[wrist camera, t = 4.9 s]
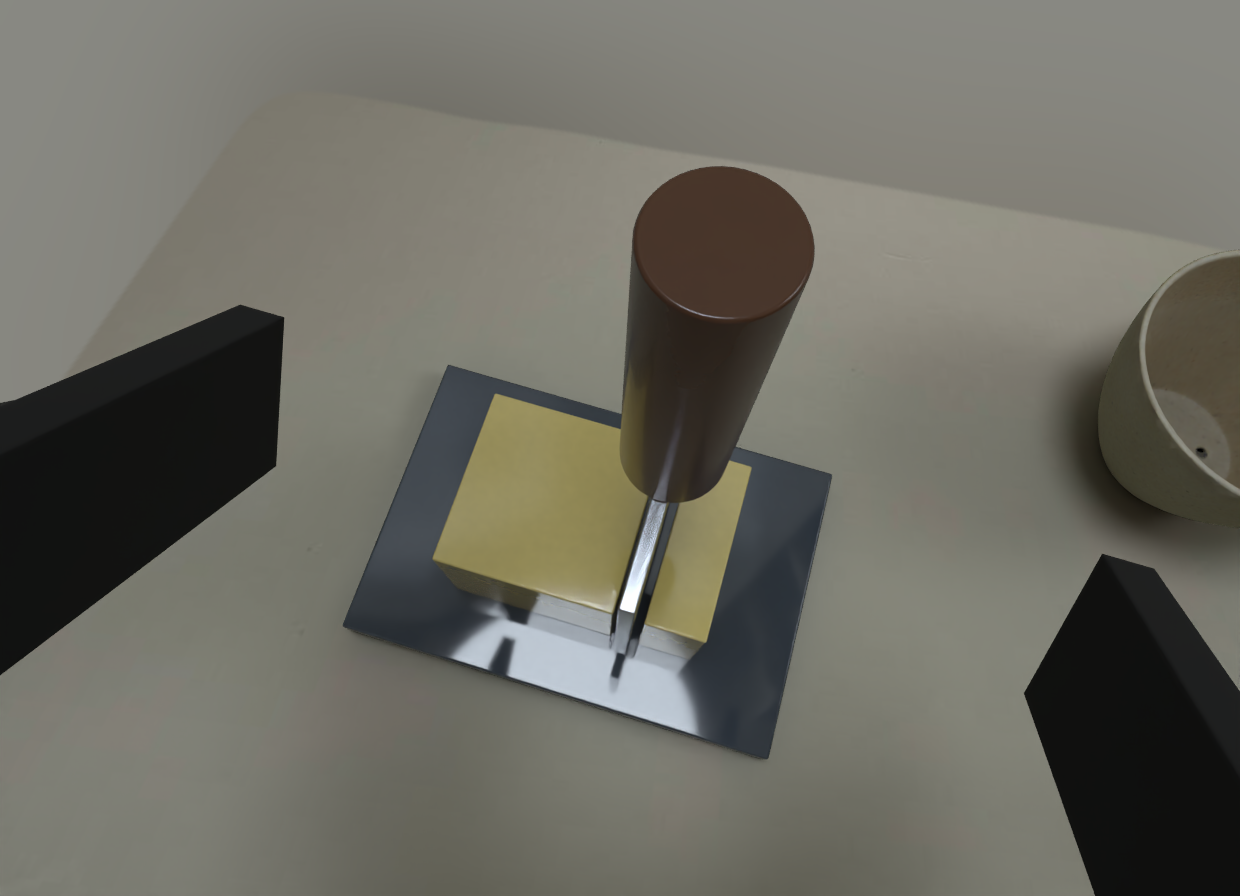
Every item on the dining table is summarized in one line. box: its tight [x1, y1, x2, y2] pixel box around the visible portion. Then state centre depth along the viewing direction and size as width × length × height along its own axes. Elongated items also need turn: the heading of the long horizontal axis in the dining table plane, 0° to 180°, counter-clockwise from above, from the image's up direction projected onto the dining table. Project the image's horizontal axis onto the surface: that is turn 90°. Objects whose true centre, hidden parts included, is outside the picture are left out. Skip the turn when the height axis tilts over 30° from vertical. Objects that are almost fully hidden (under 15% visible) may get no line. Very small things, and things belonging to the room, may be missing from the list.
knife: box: [613, 166, 815, 654], centre depth 20 cm, size 3×8×17 cm, turn 163°
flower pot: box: [1098, 250, 1240, 528], centre depth 32 cm, size 10×10×7 cm
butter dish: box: [343, 365, 832, 759], centre depth 31 cm, size 16×11×6 cm
